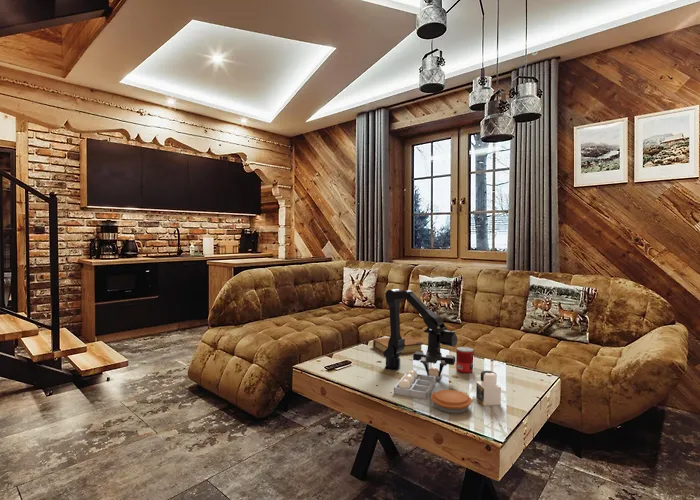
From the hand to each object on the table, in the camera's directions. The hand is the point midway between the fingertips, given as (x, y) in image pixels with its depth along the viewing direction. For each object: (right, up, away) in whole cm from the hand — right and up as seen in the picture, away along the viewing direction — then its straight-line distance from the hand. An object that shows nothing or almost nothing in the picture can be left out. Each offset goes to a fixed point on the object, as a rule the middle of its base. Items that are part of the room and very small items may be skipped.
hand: (433, 376), depth 183 cm
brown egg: (0, +2, 0) cm, 2 cm away
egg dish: (0, -1, 0) cm, 1 cm away
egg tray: (-10, -1, -12) cm, 16 cm away
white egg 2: (-13, +2, -11) cm, 17 cm away
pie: (0, -2, -31) cm, 31 cm away
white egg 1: (-11, +2, -5) cm, 12 cm away
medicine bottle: (+16, -2, -26) cm, 31 cm away
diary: (-11, 0, +48) cm, 49 cm away
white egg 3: (-16, +2, -17) cm, 23 cm away
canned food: (+18, -1, +11) cm, 21 cm away
